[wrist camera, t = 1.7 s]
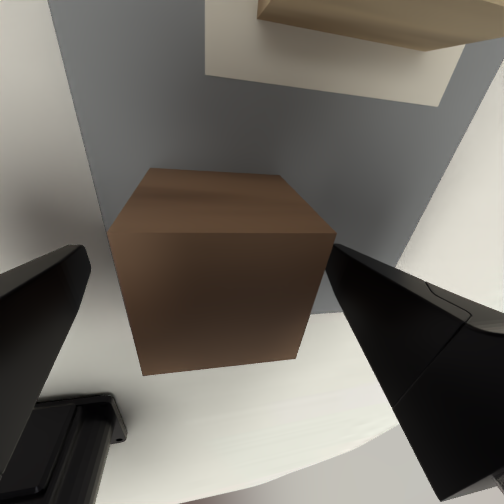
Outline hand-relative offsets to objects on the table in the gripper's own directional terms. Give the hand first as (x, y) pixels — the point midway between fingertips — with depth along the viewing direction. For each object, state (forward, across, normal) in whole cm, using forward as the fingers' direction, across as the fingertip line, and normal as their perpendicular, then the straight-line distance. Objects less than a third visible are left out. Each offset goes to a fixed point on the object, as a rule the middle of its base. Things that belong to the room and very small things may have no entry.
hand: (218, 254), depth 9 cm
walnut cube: (+2, 0, 0) cm, 2 cm away
